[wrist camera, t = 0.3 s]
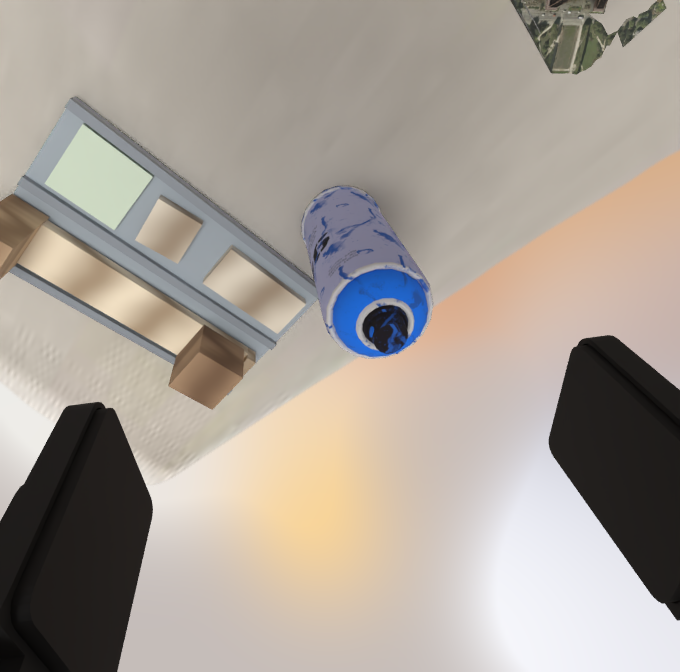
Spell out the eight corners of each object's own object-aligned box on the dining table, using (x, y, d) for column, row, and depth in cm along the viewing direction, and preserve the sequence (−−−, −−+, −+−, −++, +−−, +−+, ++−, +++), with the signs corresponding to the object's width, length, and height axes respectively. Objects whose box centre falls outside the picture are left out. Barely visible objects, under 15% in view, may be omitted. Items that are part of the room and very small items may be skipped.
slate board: (-17, 246, 41) (-25, 252, 40) (76, 96, 36) (69, 98, 35) (228, 387, 53) (227, 395, 52) (323, 288, 48) (324, 294, 47)
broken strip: (133, 231, 42) (130, 236, 41) (163, 190, 40) (161, 194, 39) (276, 329, 49) (276, 335, 48) (306, 297, 48) (307, 303, 47)
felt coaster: (47, 181, 38) (44, 183, 38) (85, 122, 37) (82, 123, 36) (115, 227, 41) (114, 230, 41) (154, 175, 39) (152, 176, 39)
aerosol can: (308, 179, 42) (340, 272, 25) (391, 192, 44) (472, 287, 27) (295, 259, 46) (316, 386, 29) (372, 269, 48) (433, 393, 31)
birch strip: (-16, 238, 40) (-63, 273, 34) (12, 193, 38) (-33, 221, 32) (228, 380, 51) (224, 424, 45) (257, 350, 50) (257, 392, 44)
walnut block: (176, 356, 47) (168, 386, 43) (204, 324, 46) (199, 351, 42) (216, 379, 49) (212, 409, 45) (244, 349, 48) (242, 378, 44)
